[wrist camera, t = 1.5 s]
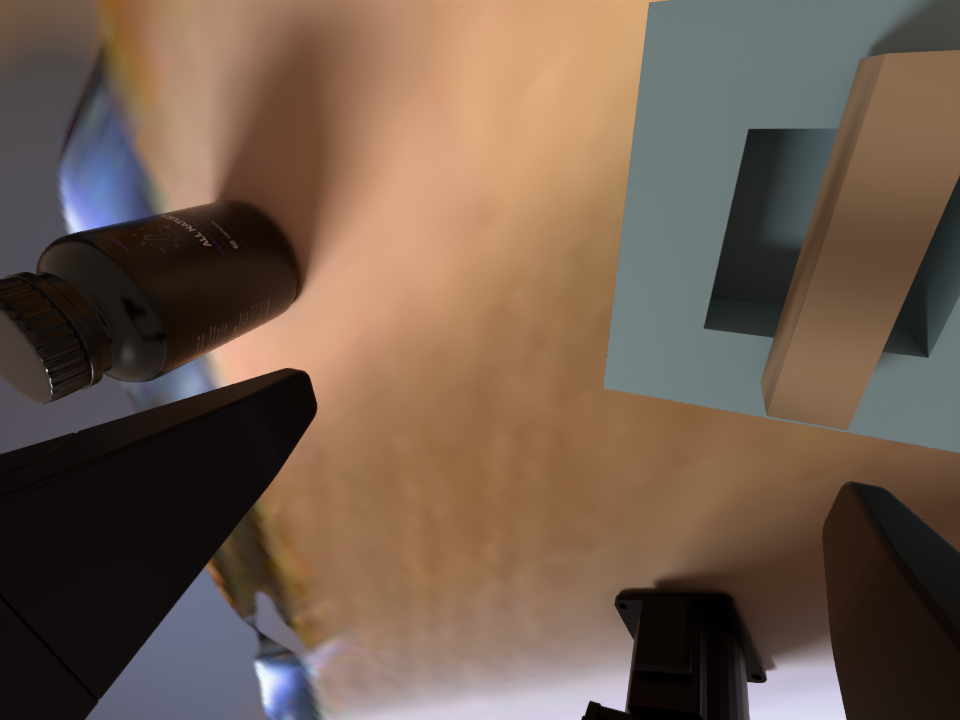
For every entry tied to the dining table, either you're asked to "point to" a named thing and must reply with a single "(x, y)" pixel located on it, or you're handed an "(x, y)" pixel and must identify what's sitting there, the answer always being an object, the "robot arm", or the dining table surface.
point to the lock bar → (866, 234)
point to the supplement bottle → (141, 298)
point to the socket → (765, 207)
